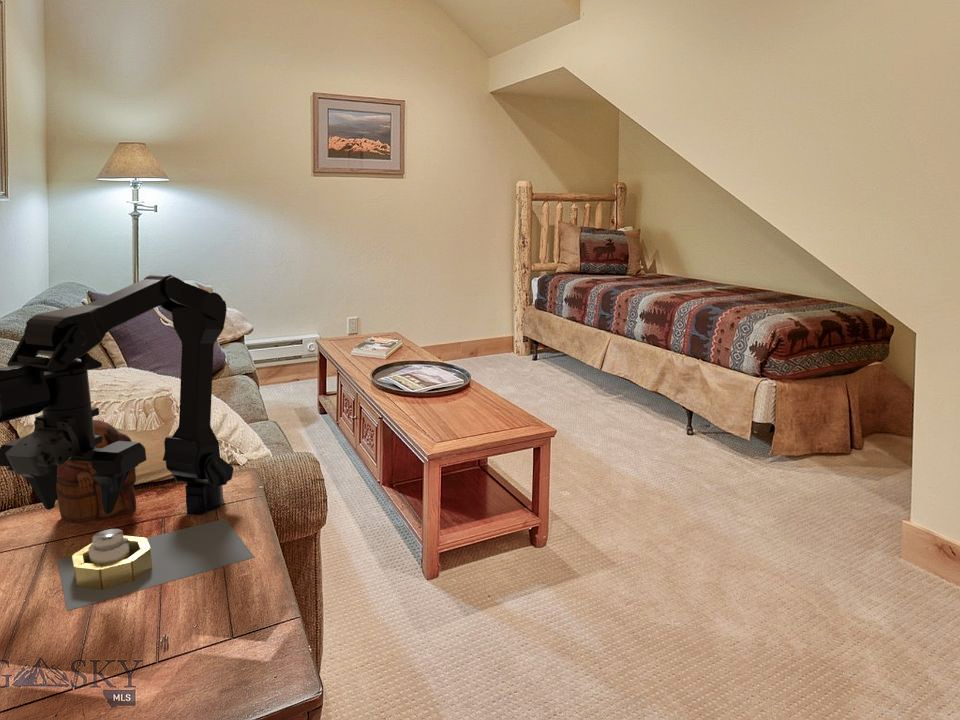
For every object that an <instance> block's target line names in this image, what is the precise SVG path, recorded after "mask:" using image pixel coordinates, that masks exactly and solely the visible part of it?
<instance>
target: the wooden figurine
mask: <svg viewBox="0 0 960 720" xmlns="http://www.w3.org/2000/svg"><path fill="white" fill-rule="evenodd" d="M93 425H94V434H95V435H102V442H101V443H99V444H97V445H95V446H96V448H104V447H106V446H108V445H110V444H112V443H115V442H117V441H126V442H133V441H132V439H131V438H130V437H129V435H127V434H125V433H122V432H119V430H118V429H116V428H115V427H114V426H113V425H111V424H110V423H108V422H106V421H103V420H98V419H93ZM95 473H97V472H96V471H95V470H94V469H93V468H92V462H89V461H75V460H67V461H66V462H65V463H64V464H63V465H57V487H56V498H57V504H58V510H59V513H60V518H61V520H62V519H63V520H64V521H66V522H69V523H73V524H89V523H93V522H96V521H98V520H103V519H104V520H105V519H108V518H109V519H110V518H113V517H115V518H116V517H121V516H124V515H127V514H128V515H129V514H131V513H133V512H134V511H135V510H137V498H136V492H135V488H134V485H135V484H136V480H137V476H136V467H135V468H133V469H131V471H130V473H129V474H128V476H127V478H126V480H125V482H124V484H123V487H122V489H121V492H120V494H119V497H118V499H117V502H116V504H115V507H114V509H113V511H112V513H110V514H108V515H106V514H105V513H104V509H103V505H102V498H101V490H100V483H99V482H98V481H97V480H96V479H95V478H93V477H92V475H93V474H95Z"/></svg>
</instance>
